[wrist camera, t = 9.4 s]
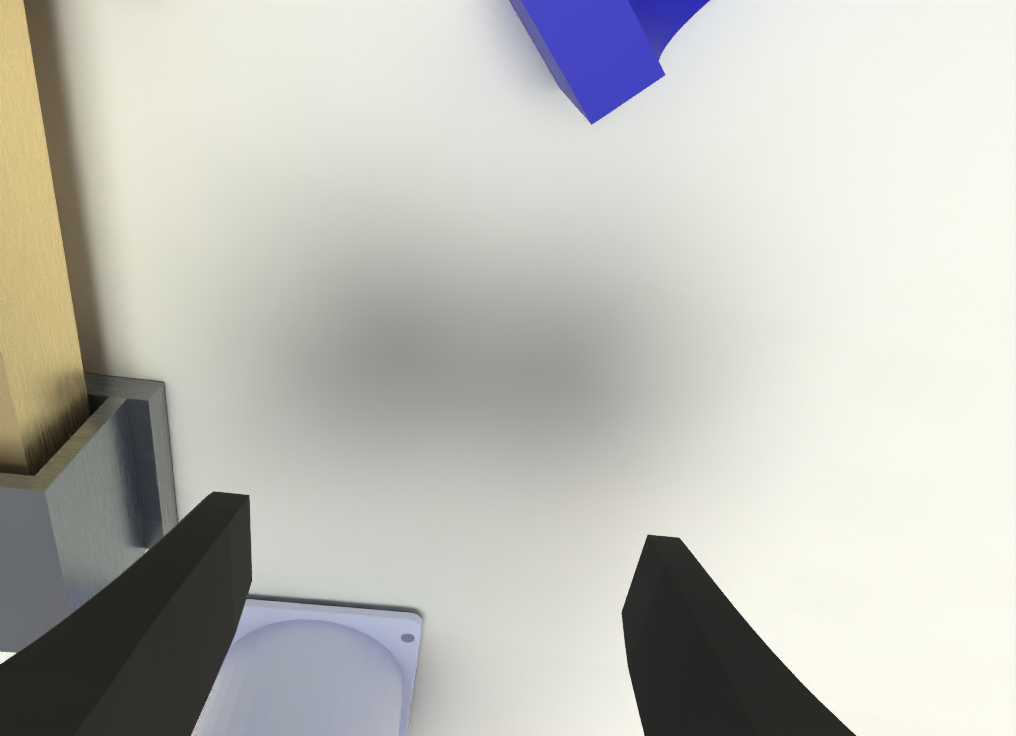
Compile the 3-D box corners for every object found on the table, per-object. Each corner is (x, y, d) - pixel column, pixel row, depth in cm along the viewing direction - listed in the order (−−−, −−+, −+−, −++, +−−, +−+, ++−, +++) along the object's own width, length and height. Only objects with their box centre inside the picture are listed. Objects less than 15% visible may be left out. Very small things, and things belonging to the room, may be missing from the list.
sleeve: (178, 527, 24) (102, 658, 19) (-3, 510, 23) (-127, 641, 18) (163, 382, 21) (70, 493, 16) (-42, 358, 20) (-202, 467, 16)
